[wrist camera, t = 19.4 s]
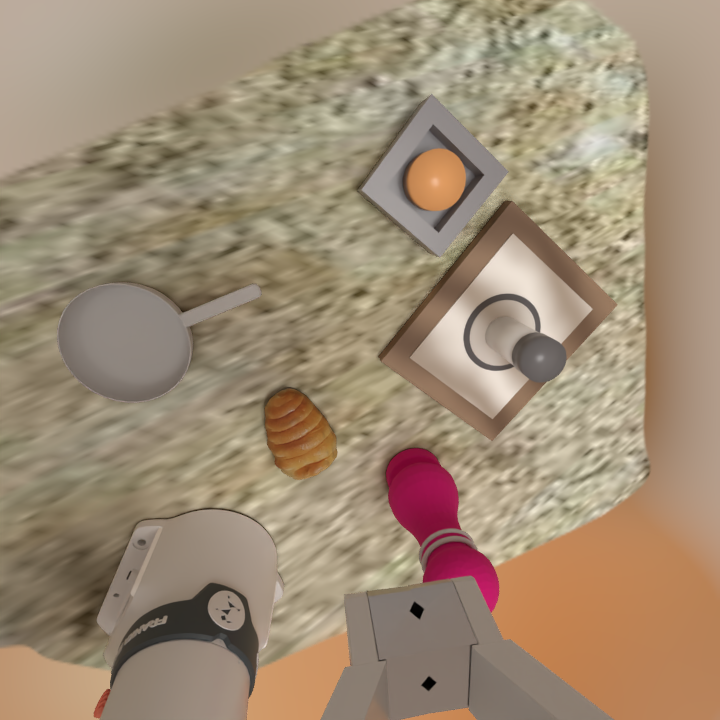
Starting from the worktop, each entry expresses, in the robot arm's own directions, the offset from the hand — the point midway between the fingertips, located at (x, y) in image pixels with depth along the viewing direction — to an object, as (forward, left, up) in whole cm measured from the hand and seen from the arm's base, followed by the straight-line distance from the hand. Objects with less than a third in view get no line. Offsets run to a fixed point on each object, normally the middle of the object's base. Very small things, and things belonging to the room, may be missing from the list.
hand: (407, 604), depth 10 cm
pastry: (-13, -6, -35) cm, 37 cm away
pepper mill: (-10, -20, -34) cm, 41 cm away
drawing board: (+8, -16, -34) cm, 38 cm away
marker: (+8, -16, -32) cm, 37 cm away
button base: (+14, -1, -34) cm, 37 cm away
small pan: (-10, +10, -34) cm, 37 cm away
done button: (+14, -1, -33) cm, 36 cm away
